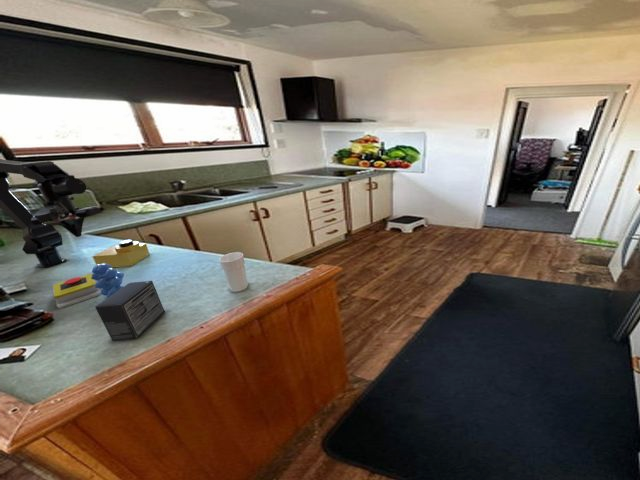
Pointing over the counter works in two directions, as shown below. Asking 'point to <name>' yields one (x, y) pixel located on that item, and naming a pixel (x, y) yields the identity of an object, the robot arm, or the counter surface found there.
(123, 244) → the press button
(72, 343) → the counter surface
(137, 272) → the counter surface
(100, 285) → the grapes
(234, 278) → the cup
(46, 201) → the robot arm
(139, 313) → the small box
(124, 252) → the yellow angular block
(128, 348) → the counter surface
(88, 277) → the emergency button
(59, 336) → the counter surface
